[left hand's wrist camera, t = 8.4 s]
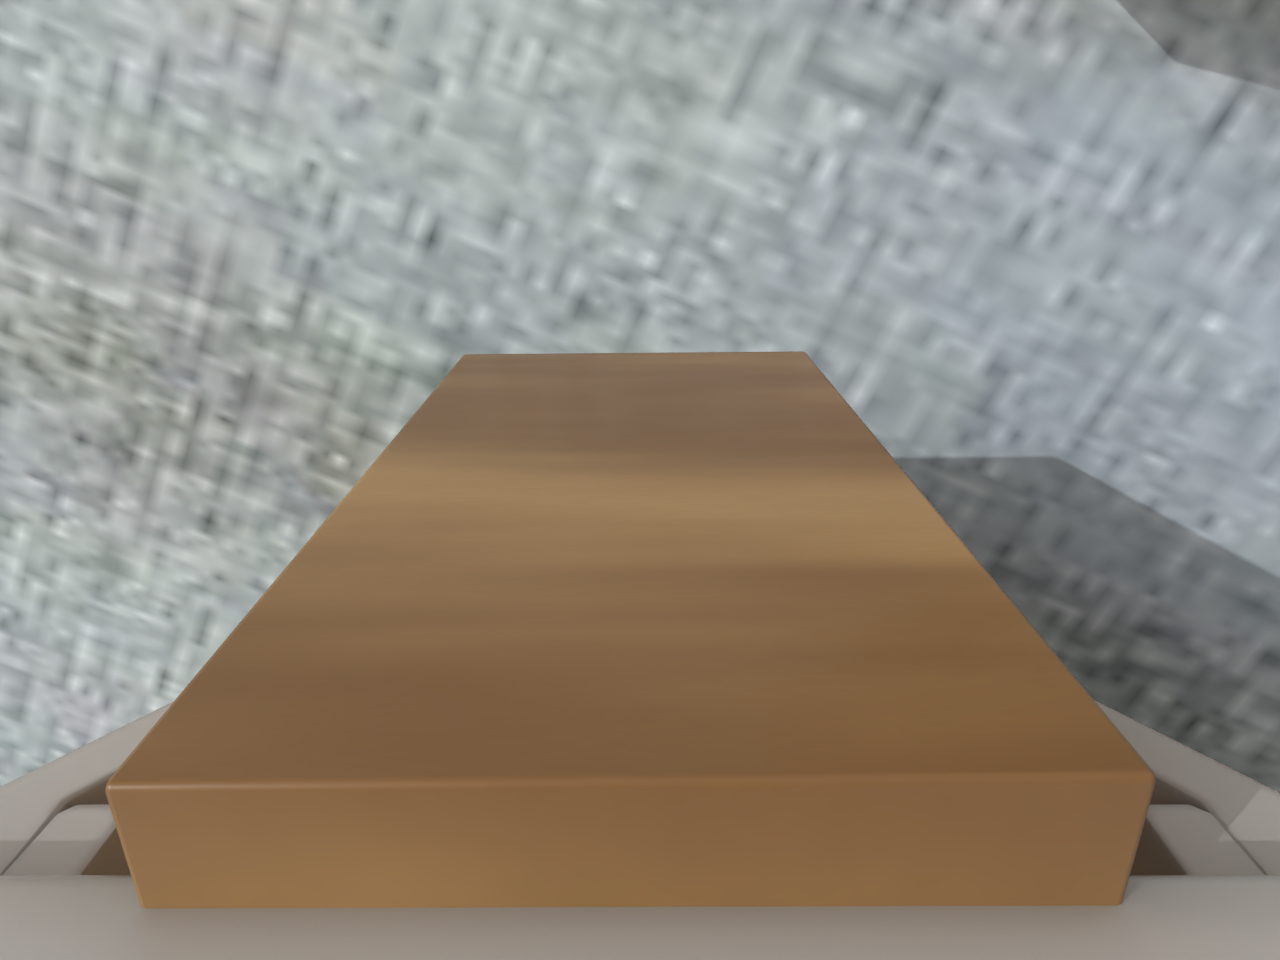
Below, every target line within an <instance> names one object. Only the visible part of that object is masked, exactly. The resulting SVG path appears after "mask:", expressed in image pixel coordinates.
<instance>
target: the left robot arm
mask: <svg viewBox="0 0 1280 960" xmlns="http://www.w3.org/2000/svg"><path fill="white" fill-rule="evenodd" d="M1094 701H1095V700H1094ZM1095 702H1096V703H1097V704H1098V705H1099V707H1100V708H1101V709H1102V710H1103V711H1104V713H1105V714H1106V715H1107V716H1108V717H1109V719H1110V720H1111V721H1112V722H1113V723H1114V725H1115V726H1116V727H1117V728H1118V730H1119V731H1120V732H1121V733H1122V734H1123V736H1124V737H1125V738H1126V739H1127V740H1128V742H1129V743H1130V744H1131V745H1132V746H1133V748H1134V749H1135V750H1136V751H1137V752H1138V754H1139V755H1140V756H1141V757H1142V758H1143V760H1144V761H1145V762H1146V763H1147V764H1148V766H1149V767H1150V768H1151V769H1152V770H1153V772H1154V775H1155V779H1156V784H1155V787H1154V791H1153V794H1152V798H1151V802H1150V805H1149V809H1148V812H1147V816H1146V819H1145V823H1144V827H1143V830H1142V834H1141V837H1140V841H1139V845H1138V848H1137V852H1136V855H1135V859H1134V863H1133V866H1132V870H1131V873H1130V877H1129V881H1128V884H1127V888H1126V891H1125V895H1124V898H1123V902H1122V904H1120V905H1117V906H799V907H471V908H143V907H141V906H140V902H139V899H138V896H137V893H136V890H135V886H134V883H133V880H132V877H131V873H130V870H129V867H128V864H127V861H126V857H125V854H124V851H123V848H122V844H121V841H120V838H119V835H118V832H117V828H116V825H115V822H114V819H113V815H112V812H111V809H110V806H109V803H108V799H107V796H106V793H105V789H106V784H107V782H108V780H109V779H110V778H111V776H112V775H113V774H114V773H115V772H116V770H117V769H118V768H119V767H120V766H121V764H122V763H123V762H124V761H125V760H126V759H127V757H128V756H129V755H130V754H131V753H132V751H133V750H134V749H135V748H136V747H137V745H138V744H139V743H140V742H141V741H142V739H143V738H144V737H145V736H146V735H147V733H148V732H149V731H150V730H151V729H152V727H153V726H154V725H155V724H156V723H157V721H158V720H159V719H160V718H161V717H162V715H163V714H164V713H165V712H166V711H167V709H168V708H169V707H170V706H171V705H172V703H173V702H172V703H170V704H168V705H166V706H164V707H162V708H160V709H158V710H156V711H154V712H152V713H149V714H147V715H145V716H143V717H141V718H139V719H137V720H135V721H133V722H131V723H129V724H127V725H125V726H123V727H121V728H119V729H117V730H115V731H113V732H111V733H109V734H107V735H105V736H103V737H101V738H99V739H97V740H95V741H93V742H91V743H89V744H87V745H84V746H82V747H80V748H78V749H76V750H74V751H72V752H70V753H68V754H66V755H64V756H62V757H60V758H58V759H56V760H54V761H52V762H50V763H48V764H46V765H44V766H42V767H40V768H38V769H36V770H34V771H32V772H30V773H28V774H26V775H24V776H21V777H19V778H17V779H15V780H13V781H11V782H9V783H7V784H5V785H3V786H1V787H0V960H1280V793H1279V792H1277V791H1275V790H1273V789H1271V788H1269V787H1267V786H1265V785H1263V784H1261V783H1259V782H1257V781H1255V780H1253V779H1251V778H1249V777H1247V776H1245V775H1243V774H1241V773H1239V772H1237V771H1235V770H1233V769H1231V768H1229V767H1227V766H1225V765H1223V764H1221V763H1219V762H1217V761H1215V760H1213V759H1211V758H1209V757H1207V756H1205V755H1203V754H1201V753H1199V752H1197V751H1195V750H1193V749H1191V748H1189V747H1187V746H1185V745H1183V744H1181V743H1179V742H1177V741H1175V740H1173V739H1171V738H1169V737H1167V736H1165V735H1163V734H1161V733H1159V732H1157V731H1155V730H1153V729H1151V728H1149V727H1147V726H1145V725H1143V724H1141V723H1139V722H1137V721H1135V720H1133V719H1131V718H1129V717H1127V716H1125V715H1123V714H1121V713H1119V712H1117V711H1115V710H1113V709H1111V708H1109V707H1107V706H1105V705H1103V704H1101V703H1099V702H1097V701H1095Z"/></svg>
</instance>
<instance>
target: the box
mask: <svg viewBox="0 0 1280 960" xmlns="http://www.w3.org/2000/svg"><path fill="white" fill-rule="evenodd" d="M1155 784H1156V779H1155V775H1154V772H1153V770H1152V769H1151V768H1150V767H1149V766H1148V764H1147V763H1146V762H1145V761H1144V760H1143V758H1142V757H1141V756H1140V755H1139V754H1138V752H1137V751H1136V750H1135V749H1134V748H1133V746H1132V745H1131V744H1130V743H1129V742H1128V740H1127V739H1126V738H1125V737H1124V736H1123V734H1122V733H1121V732H1120V731H1119V730H1118V728H1117V727H1116V726H1115V725H1114V723H1113V722H1112V721H1111V720H1110V719H1109V717H1108V716H1107V715H1106V714H1105V713H1104V711H1103V710H1102V709H1101V708H1100V707H1099V705H1098V704H1097V703H1096V702H1095V701H1094V699H1093V698H1092V697H1091V696H1090V695H1089V693H1088V692H1087V691H1086V690H1085V689H1084V687H1083V686H1082V685H1081V684H1080V683H1079V681H1078V680H1077V679H1076V678H1075V677H1074V675H1073V674H1072V673H1071V672H1070V671H1069V669H1068V668H1067V667H1066V666H1065V665H1064V663H1063V662H1062V661H1061V660H1060V658H1059V657H1058V656H1057V655H1056V654H1055V652H1054V651H1053V650H1052V649H1051V648H1050V646H1049V645H1048V644H1047V643H1046V642H1045V640H1044V639H1043V638H1042V637H1041V636H1040V634H1039V633H1038V632H1037V631H1036V630H1035V628H1034V627H1033V626H1032V625H1031V624H1030V622H1029V621H1028V620H1027V619H1026V618H1025V616H1024V615H1023V614H1022V613H1021V612H1020V610H1019V609H1018V608H1017V607H1016V606H1015V604H1014V603H1013V602H1012V601H1011V599H1010V598H1009V597H1008V596H1007V595H1006V593H1005V592H1004V591H1003V590H1002V589H1001V587H1000V586H999V585H998V584H997V583H996V581H995V580H994V579H993V578H992V577H991V575H990V574H989V573H988V572H987V571H986V569H985V568H984V567H983V566H982V565H981V563H980V562H979V561H978V560H977V559H976V557H975V556H974V555H973V554H972V553H971V551H970V550H969V549H968V548H967V547H966V545H965V544H964V543H963V542H962V541H961V539H960V538H959V537H958V536H957V534H956V533H955V532H954V531H953V530H952V528H951V527H950V526H949V525H948V524H947V522H946V521H945V520H944V519H943V518H942V516H941V515H940V514H939V513H938V512H937V510H936V509H935V508H934V507H933V506H932V504H931V503H930V502H929V501H928V500H927V498H926V497H925V496H924V495H923V494H922V492H921V491H920V490H919V489H918V488H917V486H916V485H915V484H914V483H913V482H912V480H911V479H910V478H909V477H908V476H907V474H906V473H905V472H904V471H903V469H902V468H901V467H900V466H899V465H898V463H897V462H896V461H895V460H894V459H893V457H892V456H891V455H890V454H889V453H888V451H887V450H886V449H885V448H884V447H883V445H882V444H881V443H880V442H879V441H878V439H877V438H876V437H875V436H874V435H873V433H872V432H871V431H870V430H869V429H868V427H867V426H866V425H865V424H864V423H863V421H862V420H861V419H860V418H859V417H858V415H857V414H856V413H855V412H854V410H853V409H852V408H851V407H850V406H849V404H848V403H847V402H846V401H845V400H844V398H843V397H842V396H841V395H840V394H839V392H838V391H837V390H836V389H835V388H834V386H833V385H832V384H831V383H830V382H829V380H828V379H827V378H826V377H825V376H824V374H823V373H822V372H821V371H820V370H819V368H818V367H817V366H816V365H815V364H814V362H813V361H812V360H811V359H810V358H809V356H808V355H807V354H806V353H805V352H701V353H585V354H469V355H463V357H462V358H461V359H460V360H459V361H458V363H457V364H456V365H455V366H454V367H453V369H452V370H451V371H450V372H449V373H448V375H447V376H446V377H445V378H444V379H443V381H442V382H441V383H440V384H439V385H438V387H437V388H436V389H435V390H434V391H433V393H432V394H431V395H430V396H429V397H428V398H427V400H426V401H425V402H424V403H423V404H422V406H421V407H420V408H419V409H418V410H417V412H416V413H415V414H414V415H413V416H412V418H411V419H410V420H409V421H408V422H407V424H406V425H405V426H404V427H403V428H402V430H401V431H400V432H399V433H398V434H397V436H396V437H395V438H394V439H393V440H392V442H391V443H390V444H389V445H388V446H387V448H386V449H385V450H384V451H383V452H382V454H381V455H380V456H379V457H378V458H377V459H376V461H375V462H374V463H373V464H372V465H371V467H370V468H369V469H368V470H367V471H366V473H365V474H364V475H363V476H362V477H361V479H360V480H359V481H358V482H357V483H356V485H355V486H354V487H353V488H352V489H351V491H350V492H349V493H348V494H347V495H346V497H345V498H344V499H343V500H342V501H341V503H340V504H339V505H338V506H337V507H336V509H335V510H334V511H333V512H332V513H331V515H330V516H329V517H328V518H327V519H326V520H325V522H324V523H323V524H322V525H321V526H320V528H319V529H318V530H317V531H316V532H315V534H314V535H313V536H312V537H311V538H310V540H309V541H308V542H307V543H306V544H305V546H304V547H303V548H302V549H301V550H300V552H299V553H298V554H297V555H296V556H295V558H294V559H293V560H292V561H291V562H290V564H289V565H288V566H287V567H286V568H285V570H284V571H283V572H282V573H281V574H280V576H279V577H278V578H277V579H276V580H275V581H274V583H273V584H272V585H271V586H270V587H269V589H268V590H267V591H266V592H265V593H264V595H263V596H262V597H261V598H260V599H259V601H258V602H257V603H256V604H255V605H254V607H253V608H252V609H251V610H250V611H249V613H248V614H247V615H246V616H245V617H244V619H243V620H242V621H241V622H240V623H239V625H238V626H237V627H236V628H235V629H234V631H233V632H232V633H231V634H230V635H229V637H228V638H227V639H226V640H225V641H224V642H223V644H222V645H221V646H220V647H219V648H218V650H217V651H216V652H215V653H214V654H213V656H212V657H211V658H210V659H209V660H208V662H207V663H206V664H205V665H204V666H203V668H202V669H201V670H200V671H199V672H198V674H197V675H196V676H195V677H194V678H193V680H192V681H191V682H190V683H189V684H188V686H187V687H186V688H185V689H184V690H183V692H182V693H181V694H180V695H179V696H178V698H177V699H176V700H175V701H174V702H173V703H172V705H171V706H170V707H169V708H168V709H167V711H166V712H165V713H164V714H163V715H162V717H161V718H160V719H159V720H158V721H157V723H156V724H155V725H154V726H153V727H152V729H151V730H150V731H149V732H148V733H147V735H146V736H145V737H144V738H143V739H142V741H141V742H140V743H139V744H138V745H137V747H136V748H135V749H134V750H133V751H132V753H131V754H130V755H129V756H128V757H127V759H126V760H125V761H124V762H123V763H122V764H121V766H120V767H119V768H118V769H117V770H116V772H115V773H114V774H113V775H112V776H111V778H110V779H109V780H108V782H107V784H106V789H105V793H106V796H107V799H108V803H109V806H110V809H111V812H112V815H113V819H114V822H115V825H116V828H117V832H118V835H119V838H120V841H121V844H122V848H123V851H124V854H125V857H126V861H127V864H128V867H129V870H130V873H131V877H132V880H133V883H134V886H135V890H136V893H137V896H138V899H139V902H140V906H141V907H143V908H471V907H799V906H1117V905H1120V904H1122V902H1123V898H1124V895H1125V891H1126V888H1127V884H1128V881H1129V877H1130V873H1131V870H1132V866H1133V863H1134V859H1135V855H1136V852H1137V848H1138V845H1139V841H1140V837H1141V834H1142V830H1143V827H1144V823H1145V819H1146V816H1147V812H1148V809H1149V805H1150V802H1151V798H1152V794H1153V791H1154V787H1155Z"/></svg>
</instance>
